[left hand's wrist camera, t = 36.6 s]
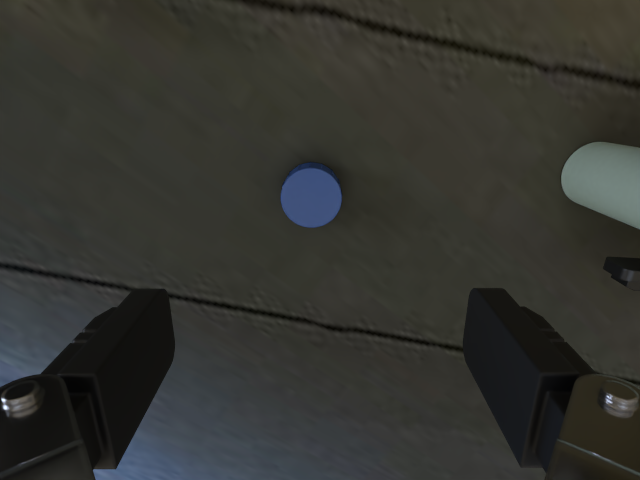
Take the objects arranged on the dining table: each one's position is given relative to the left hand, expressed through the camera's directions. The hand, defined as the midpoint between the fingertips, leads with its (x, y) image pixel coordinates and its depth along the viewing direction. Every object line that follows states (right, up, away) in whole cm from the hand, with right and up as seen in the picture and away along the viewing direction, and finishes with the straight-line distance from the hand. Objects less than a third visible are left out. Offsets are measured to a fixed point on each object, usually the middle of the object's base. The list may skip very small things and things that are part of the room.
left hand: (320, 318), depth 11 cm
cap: (-1, +5, +17) cm, 18 cm away
